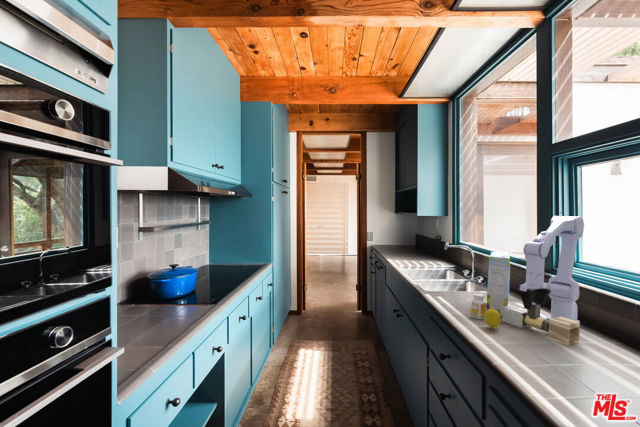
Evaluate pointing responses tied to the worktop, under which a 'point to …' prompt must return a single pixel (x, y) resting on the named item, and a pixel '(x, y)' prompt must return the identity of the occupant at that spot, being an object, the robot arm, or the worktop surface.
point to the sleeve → (514, 316)
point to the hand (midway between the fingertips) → (533, 308)
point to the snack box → (498, 281)
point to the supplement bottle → (478, 306)
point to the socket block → (564, 330)
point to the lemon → (492, 318)
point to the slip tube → (535, 318)
